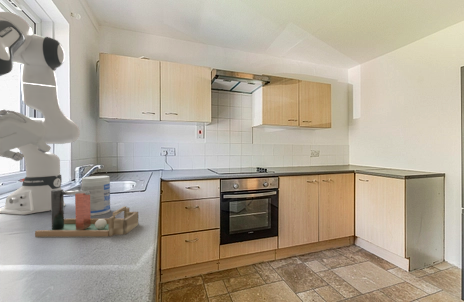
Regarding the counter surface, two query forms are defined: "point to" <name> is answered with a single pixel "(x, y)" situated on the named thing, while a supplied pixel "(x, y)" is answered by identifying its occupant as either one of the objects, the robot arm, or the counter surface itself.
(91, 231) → the tray
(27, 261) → the counter surface
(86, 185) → the supplement tub
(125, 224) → the wooden frame
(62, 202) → the pillars with crossbar
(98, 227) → the ball
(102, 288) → the counter surface
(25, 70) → the robot arm
